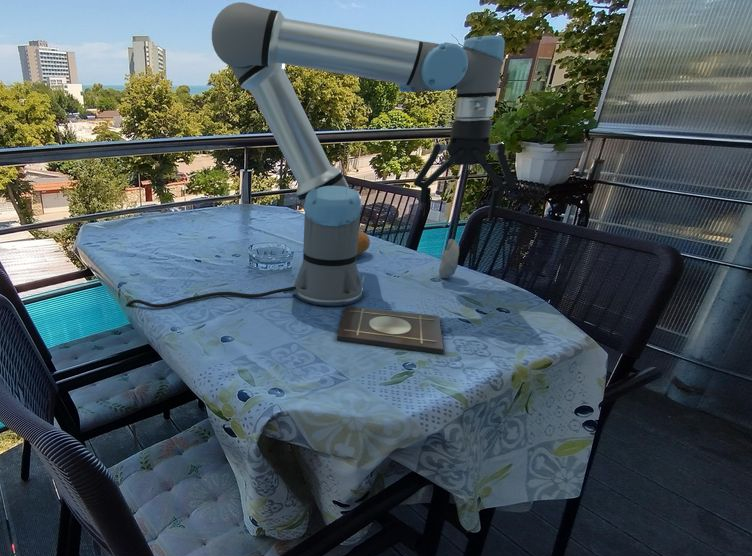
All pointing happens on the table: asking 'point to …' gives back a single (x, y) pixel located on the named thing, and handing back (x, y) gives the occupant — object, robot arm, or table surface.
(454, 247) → the fossil
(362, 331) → the board
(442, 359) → the table surface
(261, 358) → the table surface
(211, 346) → the table surface
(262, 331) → the table surface
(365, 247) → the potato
